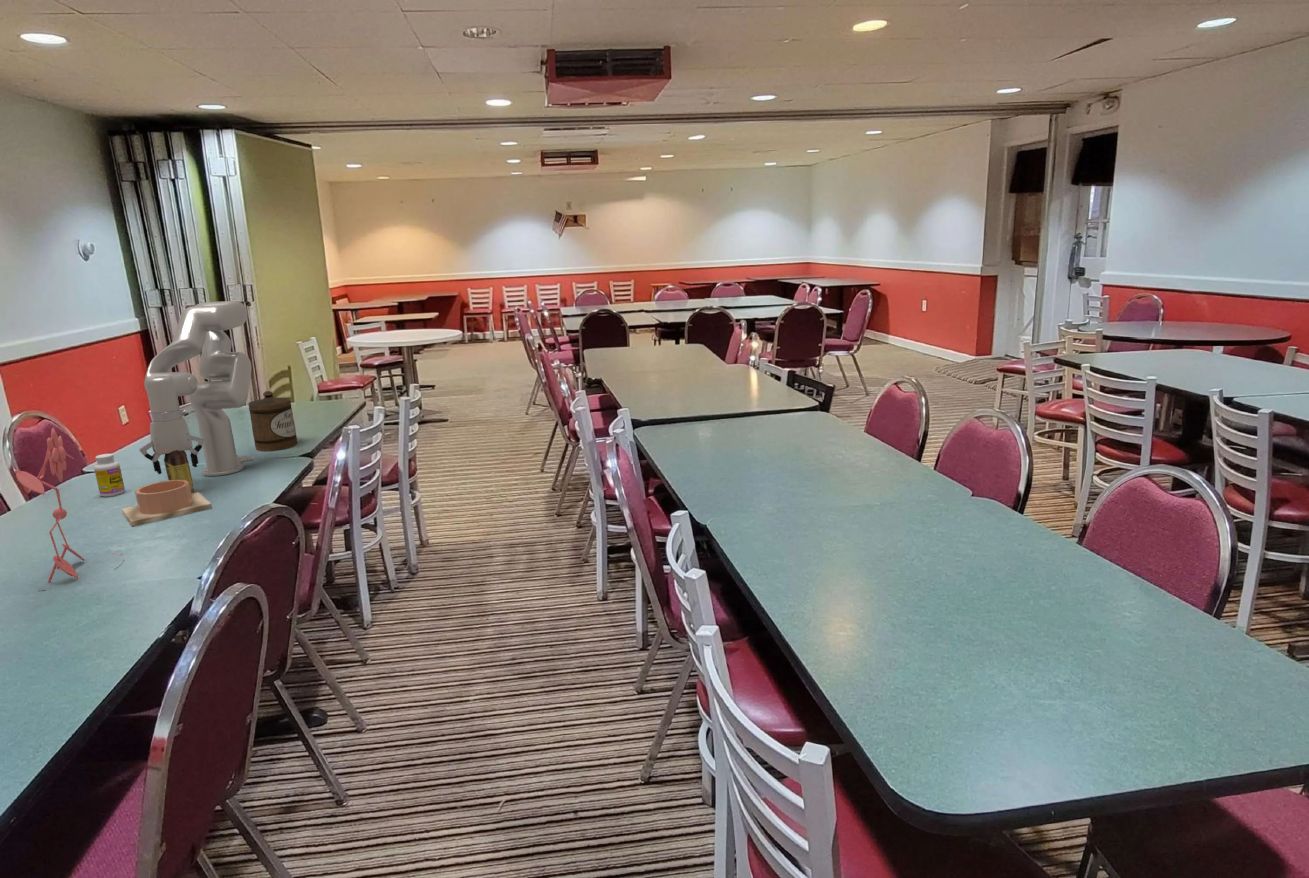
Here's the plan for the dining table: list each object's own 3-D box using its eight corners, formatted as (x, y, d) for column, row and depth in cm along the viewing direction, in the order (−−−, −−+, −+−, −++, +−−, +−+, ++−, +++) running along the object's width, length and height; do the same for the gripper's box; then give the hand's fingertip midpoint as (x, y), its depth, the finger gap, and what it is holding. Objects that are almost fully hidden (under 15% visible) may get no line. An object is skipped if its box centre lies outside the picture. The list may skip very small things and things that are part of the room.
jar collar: (186, 495, 230) (183, 477, 229) (197, 505, 221) (193, 486, 219) (136, 506, 222) (131, 487, 220) (144, 517, 212) (139, 497, 211)
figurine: (34, 597, 167) (-2, 445, 158) (60, 557, 189) (29, 422, 181) (117, 582, 174) (86, 436, 165) (133, 546, 196) (106, 415, 187)
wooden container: (286, 450, 285) (276, 394, 279) (248, 452, 285) (237, 395, 280) (304, 440, 299) (295, 386, 294) (268, 442, 299) (258, 388, 294)
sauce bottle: (174, 492, 239) (161, 432, 234) (196, 489, 241) (184, 430, 236) (169, 498, 233) (156, 437, 228) (192, 495, 235) (179, 434, 230)
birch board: (199, 496, 234) (198, 492, 233) (212, 508, 222) (211, 503, 222) (122, 513, 221) (121, 508, 220) (132, 526, 209) (130, 521, 209)
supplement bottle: (112, 497, 236) (103, 458, 233) (95, 497, 238) (85, 458, 234) (130, 490, 243) (122, 452, 239) (113, 490, 244) (104, 452, 241)
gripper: (195, 410, 239) (205, 462, 243) (131, 419, 227) (142, 473, 231) (201, 413, 233) (211, 466, 237) (135, 423, 222) (147, 478, 226)
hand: (177, 469), depth 234 cm, fingers open, 9 cm apart
